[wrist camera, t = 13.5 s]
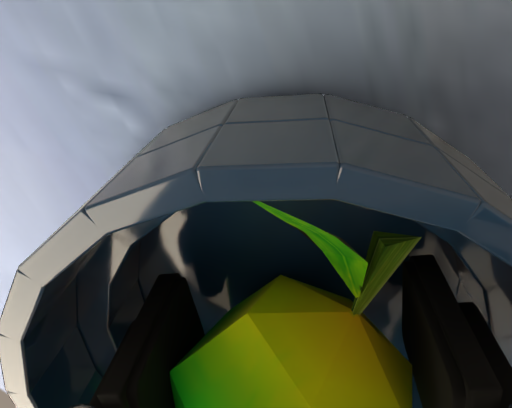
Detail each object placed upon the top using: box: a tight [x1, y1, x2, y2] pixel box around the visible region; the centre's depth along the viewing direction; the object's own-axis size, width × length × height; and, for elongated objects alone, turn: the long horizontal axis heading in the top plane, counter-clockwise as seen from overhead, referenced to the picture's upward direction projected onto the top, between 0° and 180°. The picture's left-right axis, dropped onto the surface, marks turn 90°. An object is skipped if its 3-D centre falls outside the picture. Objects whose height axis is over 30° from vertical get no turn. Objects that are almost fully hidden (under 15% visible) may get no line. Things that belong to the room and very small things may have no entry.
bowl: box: [0, 93, 512, 408], centre depth 11 cm, size 13×13×5 cm
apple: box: [170, 201, 422, 408], centre depth 9 cm, size 7×6×9 cm
